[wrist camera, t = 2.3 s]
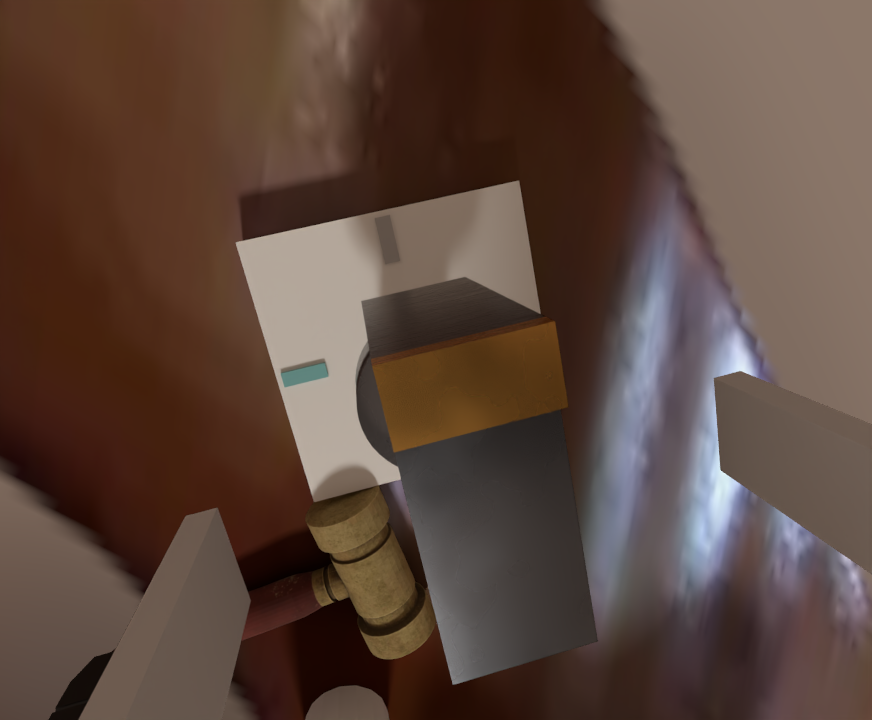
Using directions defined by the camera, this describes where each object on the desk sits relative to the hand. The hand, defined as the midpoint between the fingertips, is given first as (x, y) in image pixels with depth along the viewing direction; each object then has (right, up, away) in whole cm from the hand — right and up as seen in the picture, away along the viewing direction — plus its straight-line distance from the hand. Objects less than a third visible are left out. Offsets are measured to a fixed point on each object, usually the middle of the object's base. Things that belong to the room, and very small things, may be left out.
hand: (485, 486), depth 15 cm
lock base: (-3, +4, +19) cm, 19 cm away
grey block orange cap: (-2, +2, +11) cm, 11 cm away
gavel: (-13, -12, +22) cm, 28 cm away
